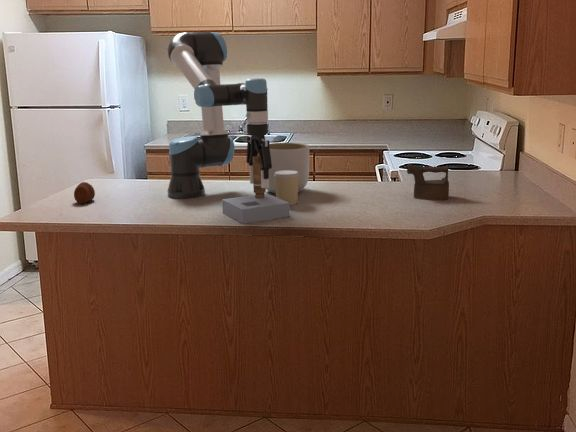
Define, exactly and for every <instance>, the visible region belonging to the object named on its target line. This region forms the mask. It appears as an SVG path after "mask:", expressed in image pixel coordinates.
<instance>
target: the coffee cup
mask: <svg viewBox="0 0 576 432" xmlns="http://www.w3.org/2000/svg"><path fill="white" fill-rule="evenodd" d="M274 176H275V187H276V194H275V195H276V196H275V197H277V198H279V199H281V200H284V201H286V202H289V206H292V205H293V204H294V205H296V203H297V204H298V197H299V196H298V195H299V194H298V193H299V192H298V176H299V174H298V172H297V171H293V170H282V171H277V172H275V174H274ZM294 205H293V206H294Z"/></svg>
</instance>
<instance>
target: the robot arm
mask: <svg viewBox="0 0 576 432" xmlns="http://www.w3.org/2000/svg"><path fill="white" fill-rule="evenodd" d="M226 43H227V42H226V41H225V38H224V37H223V35H222V34H221V33H219V32H211V31H200V32H199V31H197V32H196V31H195V32H194V31H192V32H191V31H190V32H189V31H188V32H187V31H184V32H180V33H178V34H175V35H174V37H173V38H172V39H171V40H170V41H169V44H168V47H167V56H168V59H169V60H170V63H172V65H173V66H174V67H176V68H178V69H179V70H180V72H181V73H182V74H183V76H184V77H185V78H186V80H187V82H188V83H189V84H190V85H191V86H192V88H193V89H194V90H193V99H194V101H195V104H196V105H197V107H199V108H200V109H201V117H202V119H201V120H202V132H200V134H199V139H198V137H197V136H195V135H194V136H193V135H192V136H191V135H190V136H183V137H178V138H175V139H173V140H171V141H170V142H169V144H168V149H169V150H168V154H169V167H170V180H169V184H168V188H167V196H168V197H169V198H173V199H192V198H198V197H201V196H204V195H205V193H206V191H205V189H206V188H205V185H204V183H203V181H202V179H201V175H200V169H202V168H210V167H221V166H222V167H223V166H227V165H229V164H230V163H231V162H232V161H233V159H234V155H235V142H234V139H233V138H232V137H231V136H229V132H228V131H227V130H225V125H224V123H225V122H224V112H223V107H225V106H245V108H246V109H245V111H246V114H245V117H246V122H247V124H246V133H247V134H246V135H249V136H247V137H246V142H247V145H246V158H245V159H246V160H245V161H246V163H247V164H248V166H249V184H250V185H251V184H252V185H253V158H252V157H253V156H259V158H260V162H261V166H262V168H261V169H260V170H261V188H268V187H269V169H271V168H272V163H271V155H270V148H269V145H270V144H271V142H270V140H268V139H267V140H266V136H265V135H267V134H268V133H269V124H268V122H269V110H268V109H269V108H268V87H267V86H268V85H267V84H268V83H267V80H266V78H259V77H258V78H247V79H246V80H245V82H238V83H227V84H225V83H224V84H222V83H221V74H220V70H221V69H222V67H223V65H224V62H225V61H226V60H227V58H228V57H227V55H228V47H227V44H226Z"/></svg>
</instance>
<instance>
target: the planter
mask: <svg viewBox="0 0 576 432" xmlns="http://www.w3.org/2000/svg"><path fill="white" fill-rule="evenodd" d="M269 148H270V155H271V163H272V168H271V169H269V187H268V188H266V191H268V192H270V193H272V194H275V195H276V187H275V176H274V174H275V172H277V171H282V170H293V171H297V172H298V174H299V176H298V193H300V192H301V191H302V190H303V189H305V187H306V186H307V184H308V182H309V176H310V145H309V144H306V143H302V142H274V143H272V142H270V145H269Z"/></svg>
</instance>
